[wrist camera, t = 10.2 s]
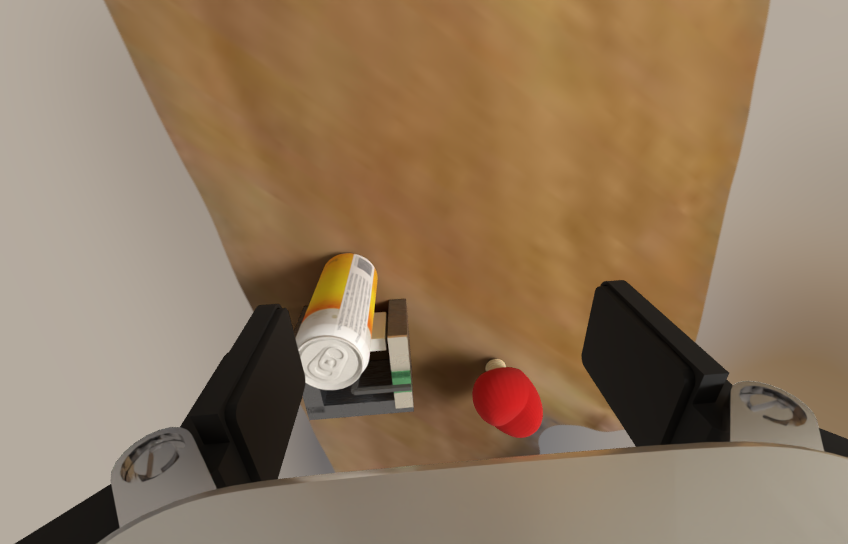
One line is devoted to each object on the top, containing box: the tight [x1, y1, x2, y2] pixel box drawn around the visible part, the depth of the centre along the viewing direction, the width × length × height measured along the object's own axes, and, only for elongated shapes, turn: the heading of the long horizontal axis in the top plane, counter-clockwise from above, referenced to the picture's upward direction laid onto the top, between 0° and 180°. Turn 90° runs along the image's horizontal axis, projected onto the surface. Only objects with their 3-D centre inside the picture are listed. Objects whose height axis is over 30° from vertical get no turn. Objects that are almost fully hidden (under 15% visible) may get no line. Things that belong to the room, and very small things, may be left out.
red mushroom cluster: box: [472, 359, 543, 438], centre depth 44 cm, size 9×7×10 cm
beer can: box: [295, 253, 377, 390], centre depth 35 cm, size 6×6×15 cm
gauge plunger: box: [351, 312, 411, 395], centre depth 41 cm, size 5×10×8 cm, turn 93°
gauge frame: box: [294, 299, 414, 420], centre depth 42 cm, size 11×12×7 cm
